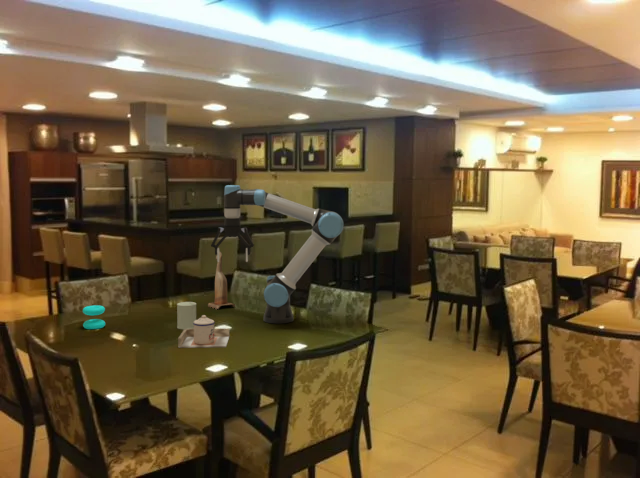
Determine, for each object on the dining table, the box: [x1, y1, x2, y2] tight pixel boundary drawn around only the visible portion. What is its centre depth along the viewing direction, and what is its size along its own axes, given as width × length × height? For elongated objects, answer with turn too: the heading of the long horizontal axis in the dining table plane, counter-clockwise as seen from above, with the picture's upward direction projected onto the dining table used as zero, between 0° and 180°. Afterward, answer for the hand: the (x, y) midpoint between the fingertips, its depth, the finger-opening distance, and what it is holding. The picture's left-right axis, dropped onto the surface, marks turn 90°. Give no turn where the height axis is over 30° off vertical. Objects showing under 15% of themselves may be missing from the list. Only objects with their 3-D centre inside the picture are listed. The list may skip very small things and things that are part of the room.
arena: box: [177, 327, 230, 349], centre depth 264 cm, size 20×17×4 cm
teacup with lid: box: [193, 314, 215, 344], centre depth 263 cm, size 12×9×12 cm
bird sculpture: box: [207, 250, 236, 310], centre depth 338 cm, size 11×12×32 cm
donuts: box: [82, 304, 106, 330], centre depth 289 cm, size 10×10×10 cm
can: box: [176, 301, 197, 330], centre depth 291 cm, size 9×9×12 cm
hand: (232, 261), depth 291 cm, fingers open, 13 cm apart
